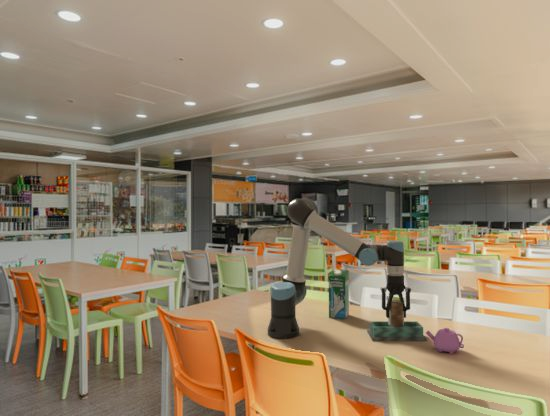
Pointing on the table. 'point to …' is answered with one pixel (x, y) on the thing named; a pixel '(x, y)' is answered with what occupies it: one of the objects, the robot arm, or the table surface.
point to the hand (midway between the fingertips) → (396, 324)
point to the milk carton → (339, 294)
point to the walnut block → (396, 313)
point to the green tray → (396, 331)
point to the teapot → (446, 340)
